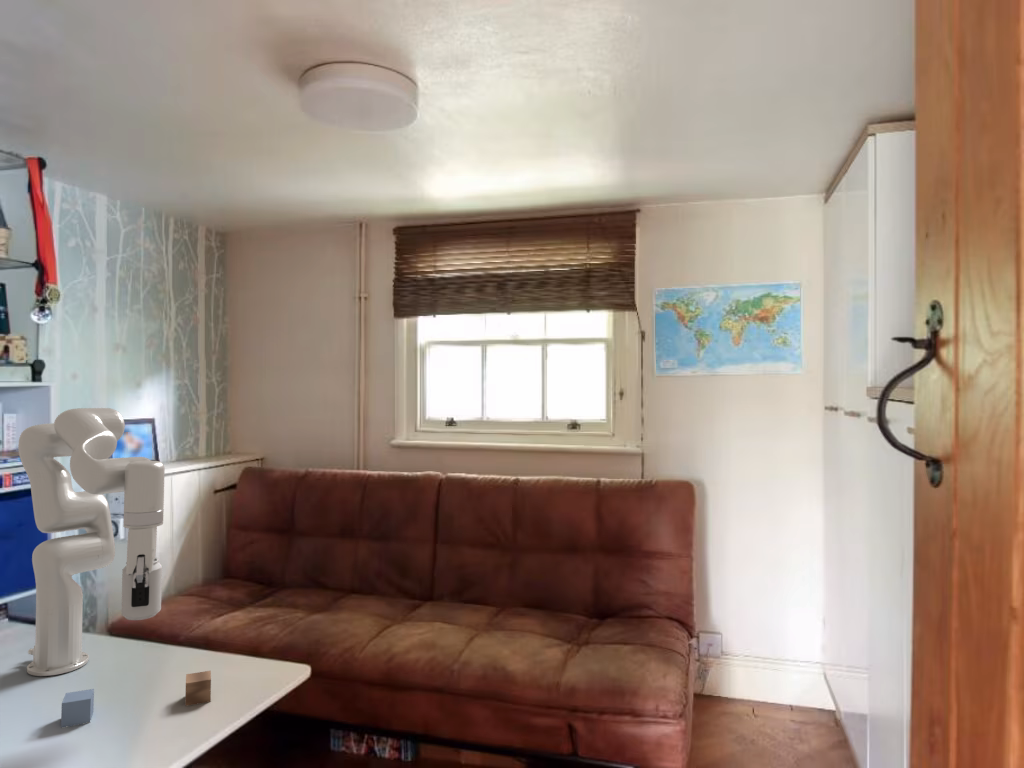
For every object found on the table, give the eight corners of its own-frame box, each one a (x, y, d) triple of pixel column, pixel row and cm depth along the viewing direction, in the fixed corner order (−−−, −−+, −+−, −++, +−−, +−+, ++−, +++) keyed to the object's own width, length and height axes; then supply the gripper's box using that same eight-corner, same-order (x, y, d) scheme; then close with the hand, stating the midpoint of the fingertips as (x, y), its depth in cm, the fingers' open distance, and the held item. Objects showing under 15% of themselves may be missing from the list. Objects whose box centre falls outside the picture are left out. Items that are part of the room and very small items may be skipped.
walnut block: (185, 706, 143) (185, 683, 143) (185, 696, 148) (186, 674, 148) (210, 702, 145) (210, 679, 145) (210, 692, 150) (210, 670, 150)
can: (143, 623, 138) (144, 565, 138) (112, 619, 139) (114, 563, 139) (168, 611, 145) (170, 556, 145) (139, 608, 146) (140, 554, 146)
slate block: (61, 728, 133) (61, 703, 133) (65, 716, 138) (65, 693, 138) (90, 723, 136) (90, 698, 136) (93, 712, 140) (93, 688, 140)
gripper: (127, 512, 148) (125, 590, 148) (119, 527, 133) (117, 615, 133) (165, 510, 152) (163, 586, 151) (161, 525, 136) (159, 610, 136)
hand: (141, 599), depth 142 cm, fingers closed on can, 7 cm apart
